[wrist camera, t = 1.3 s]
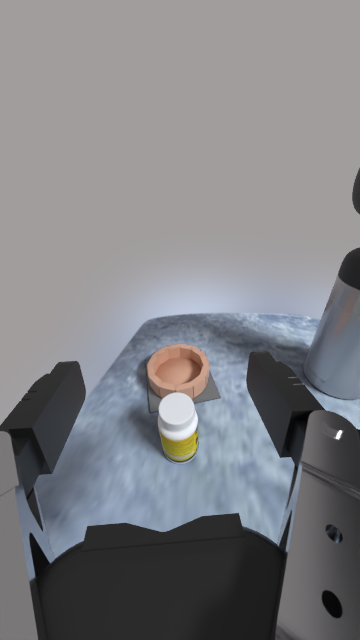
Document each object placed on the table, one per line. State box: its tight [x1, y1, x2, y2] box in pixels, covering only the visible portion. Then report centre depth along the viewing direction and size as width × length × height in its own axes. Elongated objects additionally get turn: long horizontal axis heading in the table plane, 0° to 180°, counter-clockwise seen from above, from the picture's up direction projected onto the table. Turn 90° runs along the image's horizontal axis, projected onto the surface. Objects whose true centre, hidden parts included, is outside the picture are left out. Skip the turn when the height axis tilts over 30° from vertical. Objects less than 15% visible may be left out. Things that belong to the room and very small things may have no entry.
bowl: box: [147, 344, 210, 399], centre depth 37 cm, size 10×10×3 cm
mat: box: [145, 350, 221, 413], centre depth 38 cm, size 11×11×1 cm
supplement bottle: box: [158, 393, 199, 464], centre depth 27 cm, size 5×5×8 cm
